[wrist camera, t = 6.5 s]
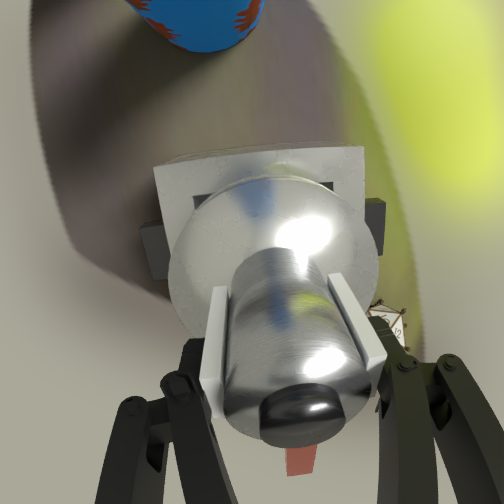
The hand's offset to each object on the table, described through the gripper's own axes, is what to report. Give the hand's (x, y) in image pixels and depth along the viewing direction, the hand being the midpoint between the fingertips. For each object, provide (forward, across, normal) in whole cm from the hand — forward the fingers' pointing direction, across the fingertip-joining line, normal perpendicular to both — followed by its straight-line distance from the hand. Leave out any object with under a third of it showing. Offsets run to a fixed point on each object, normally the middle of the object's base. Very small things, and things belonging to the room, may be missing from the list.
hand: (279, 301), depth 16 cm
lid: (+6, 0, 0) cm, 6 cm away
